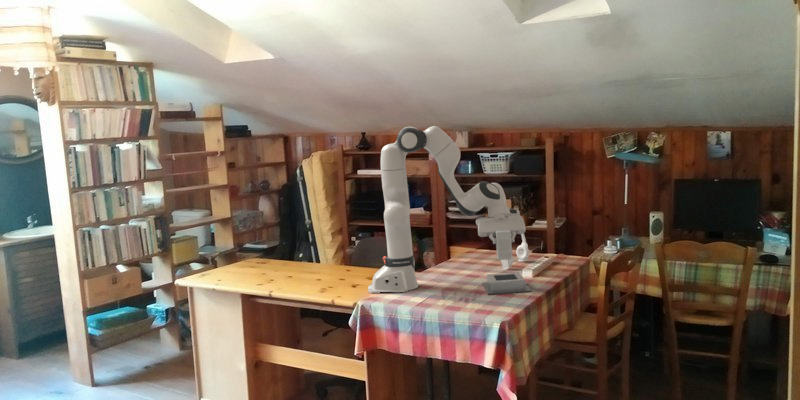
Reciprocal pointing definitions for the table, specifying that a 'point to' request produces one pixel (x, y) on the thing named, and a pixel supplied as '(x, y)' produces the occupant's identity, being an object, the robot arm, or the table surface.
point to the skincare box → (504, 245)
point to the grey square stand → (505, 284)
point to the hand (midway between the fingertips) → (503, 242)
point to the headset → (518, 254)
